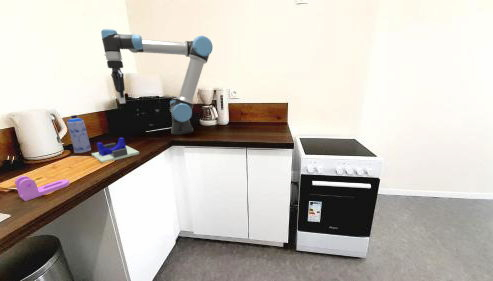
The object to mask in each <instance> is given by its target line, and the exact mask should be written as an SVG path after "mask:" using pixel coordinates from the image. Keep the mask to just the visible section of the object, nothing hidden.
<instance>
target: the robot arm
mask: <svg viewBox="0 0 493 281" xmlns="http://www.w3.org/2000/svg"><path fill="white" fill-rule="evenodd" d="M100 34H101V40H102V45H103V49H104V54H103V55H104V56H105V58H106V59H105V60H107V61H106V63H107V64H106V65H107V68H108V69H111V74H110V76H111V78H112V81H113V82H112V83H113V85H114V89H115V91H116V92H117V96H118V100H119V104H126V103H127V102H126V98H125V93H124V92H125V91H126V89H125V80H124V79H125V78H124V77H125V76H124V75H125V74H124V73H123V72H122V69H123V68H124V64H123V57H122V52H121V50H129V51H130V52H131V53H133V54H134V53H135V54H137V53H145V54H146V53H147V54H162V55H179V56H185V57H189V59H190V60H189V61H188V65H187V69H186V72H185V76H184V78H183V82H182V85H181V88H180V90H179V91H180V93H179V95H178V96H176V97H175V99H173V100H170V101H169V106H170V111H171V112H170V113H171V119H172V120H171V122H172V125H171V129H170V130H171V131H170V132H171V135H175V136H176V135H188V134H191V133H193V132H194V128H193V126H192V124H191V120H190V119H191V118H192V116H193V107H194V106H195V105H194V104H195V103H194V101H193V100H194V96H195V94H196V90H197V86H198V83H199V80H200V78H201V74H202V71H203V68H204V65H205V64H207V63H208V61H209V58H210V55H211V54H212V52H213V48H214V47H213V43H212V41H211V39H210V38H209V37H207V36H205V35H198V36H196V37H195V38H194V39H193V40H184V42H181V41H169V40H168V41H167V40H154V39H143V38H142V36H141V35H140V34H119V33H118V32H117V30H115V29H110V28H105V29H102V30H101V32H100Z"/></svg>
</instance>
